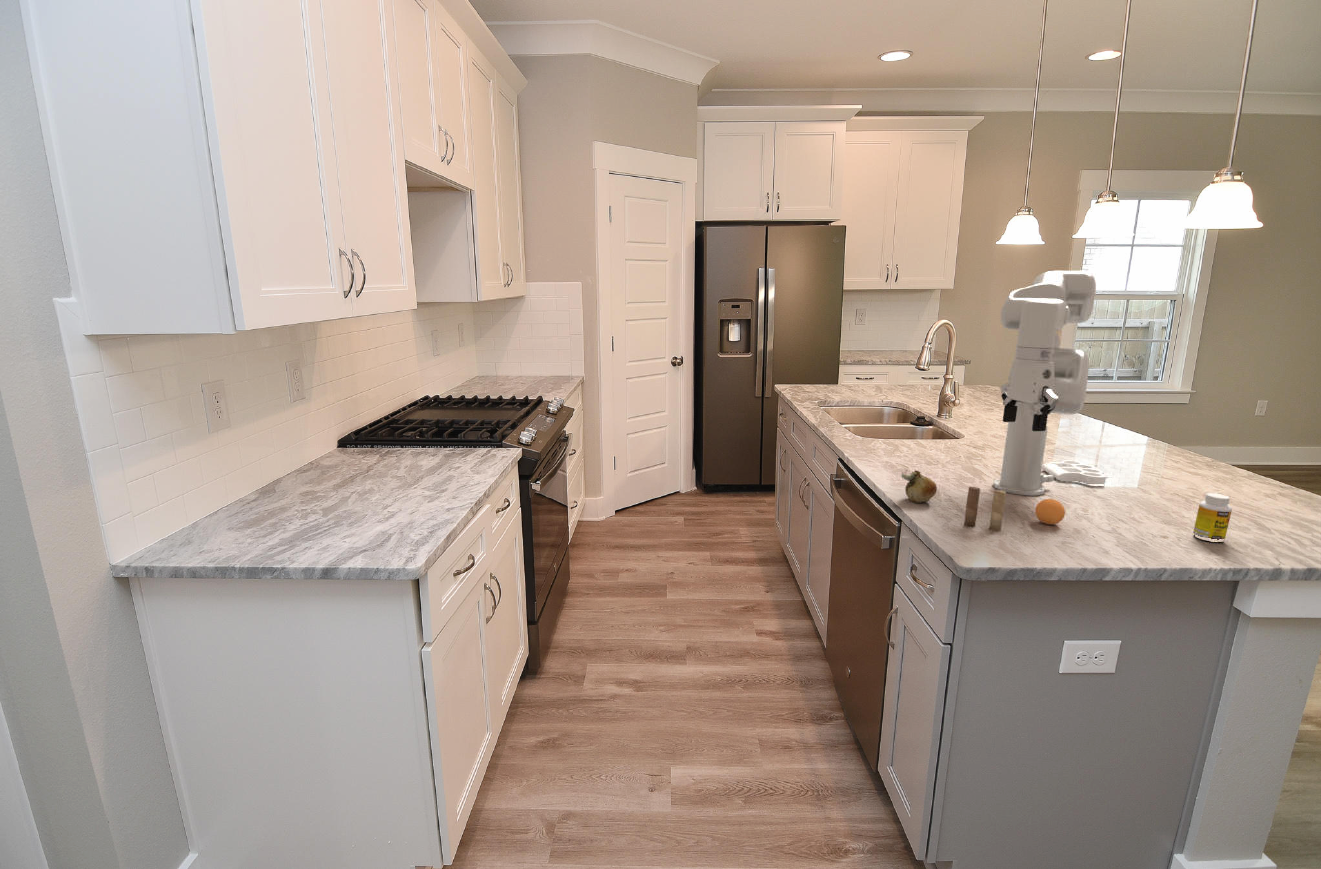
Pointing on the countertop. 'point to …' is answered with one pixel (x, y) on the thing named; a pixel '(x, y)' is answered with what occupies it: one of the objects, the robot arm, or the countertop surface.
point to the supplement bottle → (1213, 517)
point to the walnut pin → (972, 506)
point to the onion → (919, 487)
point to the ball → (1050, 511)
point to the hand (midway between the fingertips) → (1023, 426)
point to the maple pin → (997, 510)
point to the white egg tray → (1075, 472)
